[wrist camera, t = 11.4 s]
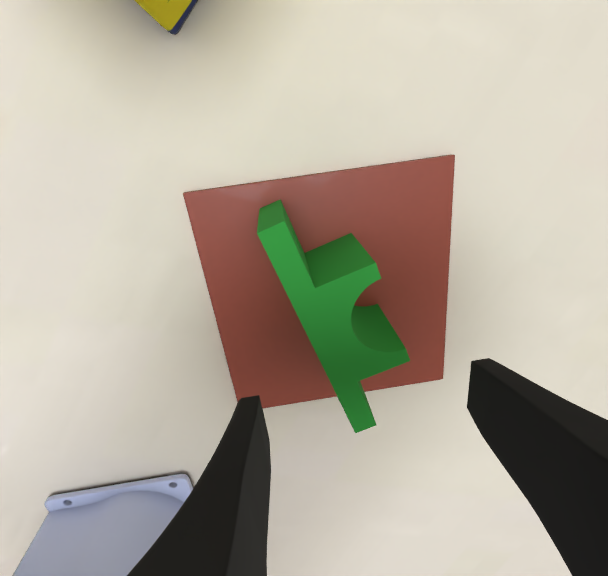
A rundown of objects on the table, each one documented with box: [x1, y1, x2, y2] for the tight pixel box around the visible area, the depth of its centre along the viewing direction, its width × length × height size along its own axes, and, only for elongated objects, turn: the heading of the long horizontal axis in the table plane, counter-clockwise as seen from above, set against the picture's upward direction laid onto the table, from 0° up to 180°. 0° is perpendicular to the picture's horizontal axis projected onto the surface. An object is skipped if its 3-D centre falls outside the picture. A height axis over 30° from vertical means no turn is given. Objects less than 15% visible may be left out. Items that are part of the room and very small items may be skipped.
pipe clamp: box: [257, 199, 410, 433], centre depth 17 cm, size 11×4×5 cm, turn 23°
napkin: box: [183, 155, 455, 408], centre depth 20 cm, size 13×14×1 cm
